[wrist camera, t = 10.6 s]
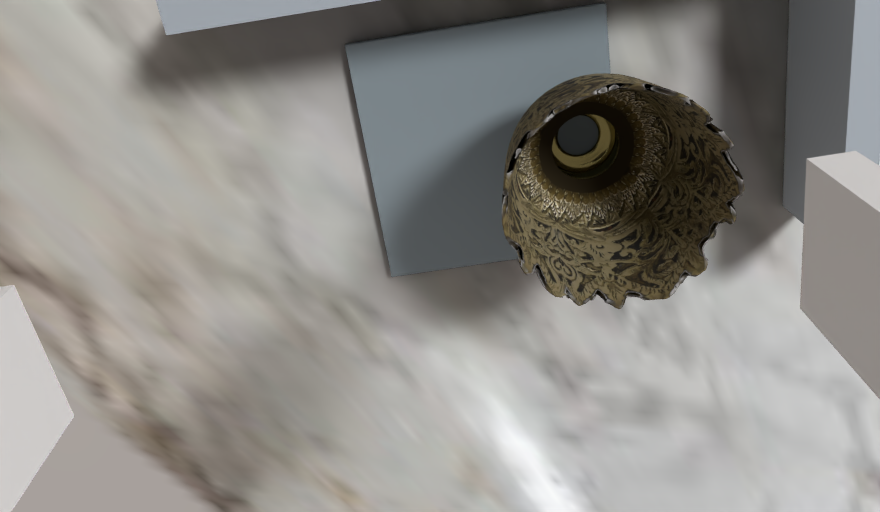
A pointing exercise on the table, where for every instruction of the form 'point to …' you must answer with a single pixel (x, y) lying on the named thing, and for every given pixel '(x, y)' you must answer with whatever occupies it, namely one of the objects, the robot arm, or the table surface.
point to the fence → (808, 72)
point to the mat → (463, 125)
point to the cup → (617, 190)
